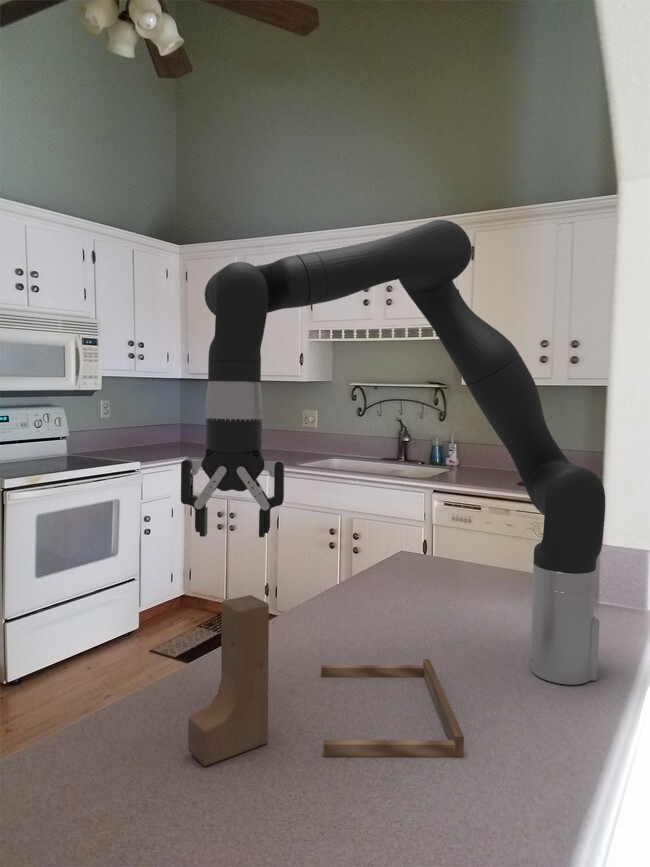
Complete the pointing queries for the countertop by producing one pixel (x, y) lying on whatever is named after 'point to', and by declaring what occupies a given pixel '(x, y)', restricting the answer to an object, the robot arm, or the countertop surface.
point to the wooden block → (236, 686)
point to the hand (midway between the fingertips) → (232, 535)
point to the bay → (400, 747)
